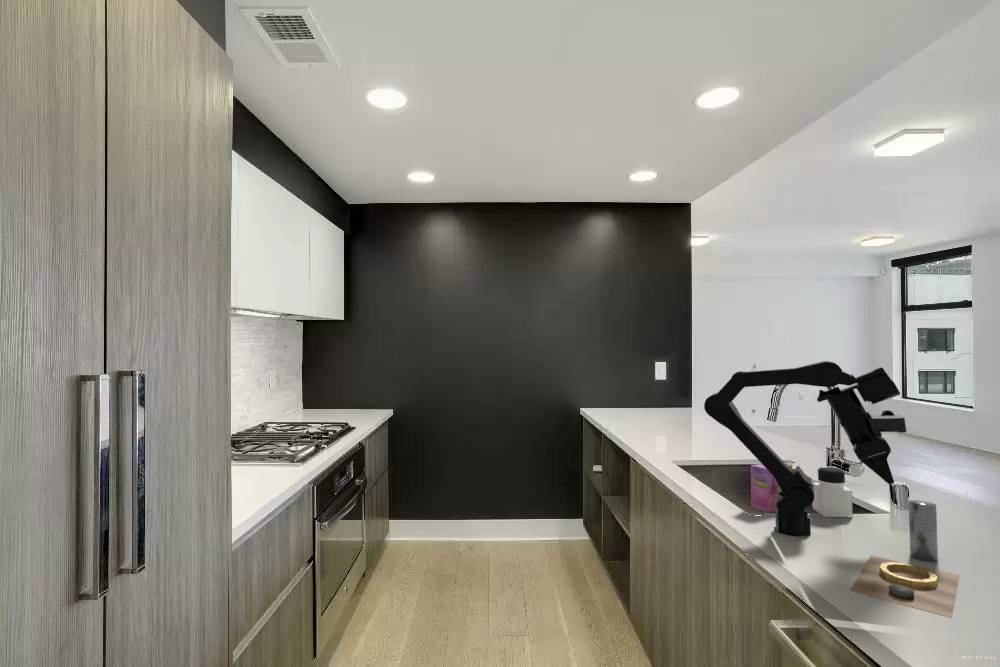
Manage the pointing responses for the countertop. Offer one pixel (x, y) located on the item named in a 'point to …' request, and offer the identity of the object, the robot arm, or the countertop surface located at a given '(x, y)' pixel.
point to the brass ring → (914, 583)
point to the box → (764, 488)
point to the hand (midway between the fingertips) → (888, 478)
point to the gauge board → (908, 588)
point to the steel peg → (923, 531)
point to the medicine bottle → (832, 493)
